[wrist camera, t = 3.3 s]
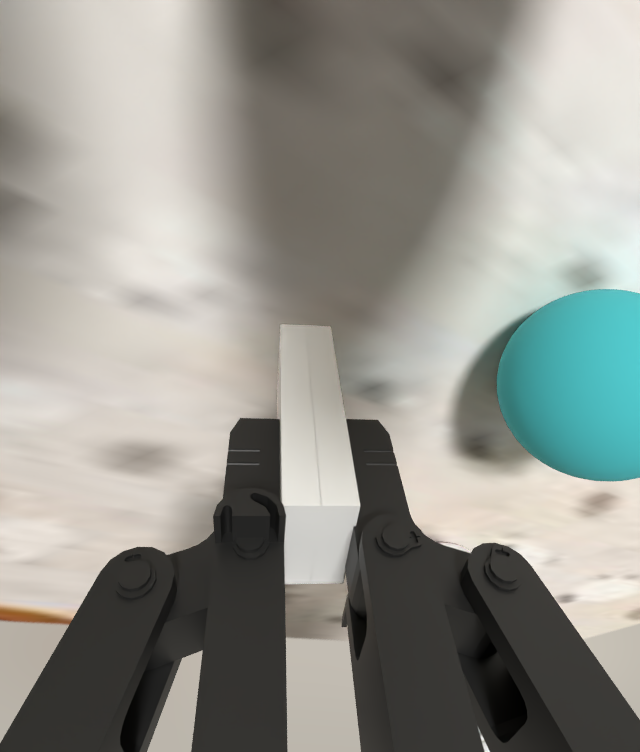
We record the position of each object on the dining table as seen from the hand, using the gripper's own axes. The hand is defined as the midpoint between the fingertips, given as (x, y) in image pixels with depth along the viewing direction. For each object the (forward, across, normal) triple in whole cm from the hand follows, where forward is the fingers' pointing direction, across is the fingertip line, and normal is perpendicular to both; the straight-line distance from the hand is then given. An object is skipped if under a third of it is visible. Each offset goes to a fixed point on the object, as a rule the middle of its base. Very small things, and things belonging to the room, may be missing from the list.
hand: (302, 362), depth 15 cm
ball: (-1, +9, 0) cm, 9 cm away
